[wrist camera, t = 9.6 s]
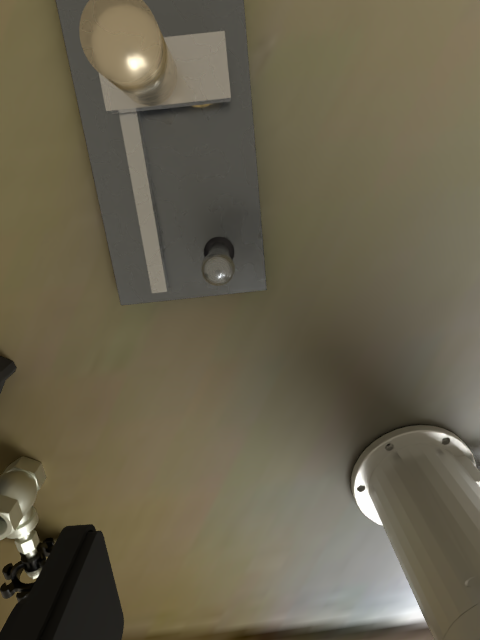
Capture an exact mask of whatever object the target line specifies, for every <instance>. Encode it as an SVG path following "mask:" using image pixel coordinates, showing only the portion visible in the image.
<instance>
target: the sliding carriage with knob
mask: <svg viewBox="0 0 480 640" xmlns="http://www.w3.org/2000/svg"><path fill="white" fill-rule="evenodd" d="M79 35H80V41H81V45H82V49H83V51H84V54H85V56H86V57H87V59H88V61H89V62H90V64H91V65H92V66H93V67H94V68H95V69H96V70H97V71H98V72H99V77H100V82H101V87H102V92H103V98H104V103H105V108H106V111H107V112H109V113H111V114H119V113H128V112H138V111H147V110H156V109H166V108H175V107H184V106H194V105H203V104H212V103H222V102H231V93H230V82H229V72H228V61H227V51H226V40H225V31H218V32H208V33H199V34H190V35H180V36H171V37H163V35H162V33H161V31H160V29H159V26H158V24H157V22H156V20H155V18H154V15H153V14H152V12H151V10H150V9H149V7H148V6H147V5H146V3H145V2H144V1H143V0H89V1H88V3H87V4H86V6H85V8H84V10H83V12H82V15H81V19H80V26H79Z"/></svg>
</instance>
